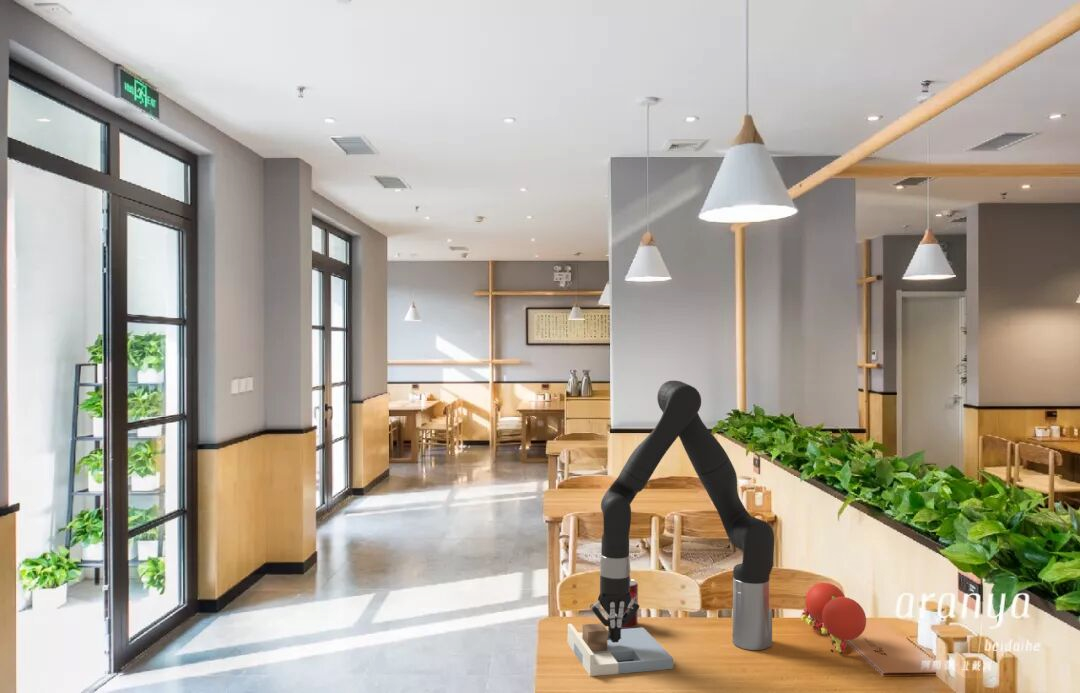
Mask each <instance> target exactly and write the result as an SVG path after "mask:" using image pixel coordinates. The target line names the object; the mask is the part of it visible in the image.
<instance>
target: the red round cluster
mask: <svg viewBox="0 0 1080 693" xmlns="http://www.w3.org/2000/svg"><path fill="white" fill-rule="evenodd" d="M804 603H805V608H804V609H803V612H801V615H800V618H801V619H800V620H801V621H802V622H805V623H807V625H808V626H809V627H812V629H813V631H816V630H821V634H823V635H825V634H827V636H829V638H830V639H831V640H832V642H831V643H832V646H834V645H835V646H834V649H832V648H831V649H830V651H831V652H832V653H833V652H838V653H842V652H845V651H846V648H847V643H846V642H845V641H852V640H855V639H857V638H859V637H860V636H861V635H862V634H863V633H864V631H865V629H866V627H867V626H866V625H867V616H866V612H865V610H864V608H863V607H862V606H861V605H860V603H858V602H857V601H856V600H854V599H852V598H850V597H846V595H845V594H844V592H843V591H842V589H841V588H839V587H838V586H836V585H834V584H832V583H829V582H819V583H816V584H813V585H812V586H811V587H810V588H809V589H808V591H807V593H806V595H805V600H804Z"/></svg>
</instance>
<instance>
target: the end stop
mask: <svg viewBox="0 0 1080 693" xmlns="http://www.w3.org/2000/svg"><path fill="white" fill-rule="evenodd" d="M568 635H569V636H570V637H571V639H572V640H573V642H574V643H575V645H576V646H577V647H578V649H579V650H580V652H581V653H582V655H583V656H584V657H585V659H586V660H587V662H588V663H589V665H590V666H592V665H594V654H593V652H592V651H591V650H590V648H589V647H588V645H587V644H586V643H585V641H584V640H583V639H582V637H581V636H580V635H579V633H578V631H577V629H576V628H575V626H574V625H573V624H572V623H567V636H568Z"/></svg>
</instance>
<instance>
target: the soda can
mask: <svg viewBox="0 0 1080 693" xmlns="http://www.w3.org/2000/svg"><path fill="white" fill-rule="evenodd" d="M630 596H631V598H632V599H631V600H633V601H635V602H636V603H637V604H638V605H639V602H638V601H639V600H638V599H639V584H638V583H637V581H636V580H634V579H631V578H630ZM627 609H628V606H627V608H626V609H625V611H624V612H623V614H624V613H625V612H626V610H627ZM638 611H639V609H638V610H637V612H636V613H635V614H634V616H633V617H632V619H631V620H630V621H629V623H628V624H627V625H622V626H621V629H630V628H636V627H637V625H639V623H638V621H639V619H637V618H638V616H639V615H638V614H639V612H638Z"/></svg>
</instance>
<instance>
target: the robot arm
mask: <svg viewBox="0 0 1080 693" xmlns="http://www.w3.org/2000/svg"><path fill="white" fill-rule="evenodd" d="M656 399H657V405H658V407H659V409H660V410H661V411H662V415H661V417H660V419H659V420H658V422H657V424H656V425H655V427H654V428H653V430H652V431H651V432H650V433H649V434H648V435H647V436H646V437H645V438H644V439H643V441H641V443H639V444H638V445H637V447H636V448H635V449H634V450H633V451H632V453H631V455H630V456H629V458H628V459H627V461H626V462H625V463H624V466H623V467H622V469H621V471H620V473H619V475H618V476H617V478H615V480H614V481H613V483H612V484H611V485H610V487H609V488H608V489H607V490H606V492H605V493H604V495H603V497H602V499H601V503H600V509H601V513H602V517H603V533H602V536H601V544H600V545H601V548H600V549H601V550H600V552H601V557H600V563H599V565H600V566H599V571H600V572H599V595H598V597H597V601H596V602H595V603H593V604H590V605H589V608H590V609H591V611H592V612H593V613H594V614H595V616H596V618H597V619H598V620H599V621H600V622H601V623H602V625H603V626H604V627H608V629H607V630H608V637H609V639H610V640H611V641H612V642H613V643H614V642H618V641H619V640H620V638H621V626H622V625H627V624H628V623H629V621H630V620H631V619H632V617H633V616H634V614H635V613H636V612H637V610H638V611H639V609H640V605H639V603H638V604H637V603H636V602H635V601H633V600H631V599H632V598H631V596H630V579H631V561H630V530H631V522H632V507H631V504H632V502H633V501H634V499H635V497H636V496H637V494H638V493H639V492H641V491H643V489H644V488H646V486H647V484H648V482H649V481H650V479H651V477H652V476H653V474H654V472H655V470H656V468H657V467H658V465H659V463H660V462H662V459H663V458H664V456H665V455H666V453H667V452H668V450H669V449H670V448H671V446H672V445H673V444H674V442H676V440H677V439H678V437H679V439H680V441H681V445H682V447H683V449H684V450H685V453H686V455H687V457H688V459H689V461H690V463H691V465H692V467H693V469H694V471H695V473H696V475H697V477H698V479H699V480H700V482H701V484H702V486H703V487H704V489H705V491H706V493H707V494H708V497H709V498H710V500H711V502H712V504H713V506H714V507H715V509H716V511H717V514H718V516H719V518H720V521H721V524H722V526H723V528H724V530H725V533H726V535H727V537H728V540H729V541H730V543H731V544H732V545H733V547H735V548H737V549H738V550H740V551H742V553H743V554H742V562H741V563H739V564H736V565H734V566H733V569H732V570H733V572H732V574H733V575H732V644H733V645H734V646H736V647H737V648H740V649H744V650H749V651H760V650H766V649H767V648H770V647H773V610H772V609H771V608H770V576H771V572H772V570H773V566H774V553H775V552H774V551H775V535H774V529H773V527H772V526H771V525H770V523H768V522H767V521H765V520H762V519H759V518H757V517H755V516H752V515H751V514H750V513H749V512H748V510H747V509H746V508H745V506H744V505H743V502H742V500H741V499H740V496H739V493H738V492H739V491H738V475H737V472H736V469H735V467H734V465H733V463H732V461H731V459H730V457H729V456H728V453H727V452H726V451H725V449H724V447H723V445H721V443H720V442H719V441H718V440H717V438H716V437H715V436H714V434H713V433H712V431H710V430H709V429H708V427H707V426H706V425H705V423H704V421H703V420H702V419H701V416H700V415H699V411H700V409H701V406H702V397H701V393H700V392H699V391H698V390H697V388H696V387H694V386H692V385H691V384H687V383H686V382H683V381H681V380H668V381H666V382H664V383H662V385H661V386H660V387H659V389H658V392H657V398H656ZM627 606H628V609H627V610H626V612H625V613H624V614H623V612H624V611H625V609H626V608H627ZM602 608H603V610H604V611H605V612H606V613H605V614H606V617H604V615H603V614H602V613H601V611H602Z"/></svg>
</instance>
